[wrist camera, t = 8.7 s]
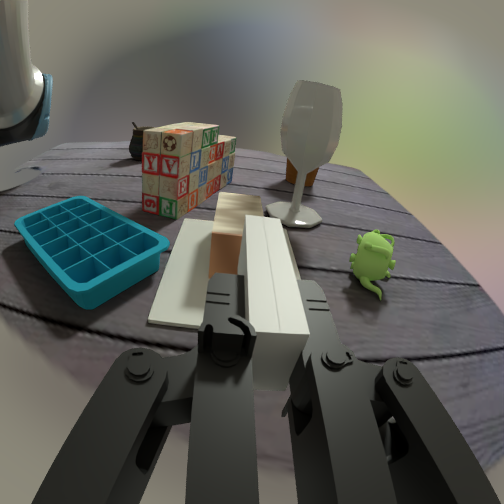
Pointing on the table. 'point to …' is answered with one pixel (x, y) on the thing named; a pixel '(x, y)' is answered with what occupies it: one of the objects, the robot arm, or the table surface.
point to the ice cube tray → (91, 249)
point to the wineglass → (307, 144)
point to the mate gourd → (137, 142)
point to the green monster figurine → (373, 259)
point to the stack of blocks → (184, 166)
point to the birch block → (230, 230)
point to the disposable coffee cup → (292, 174)
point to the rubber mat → (189, 277)
